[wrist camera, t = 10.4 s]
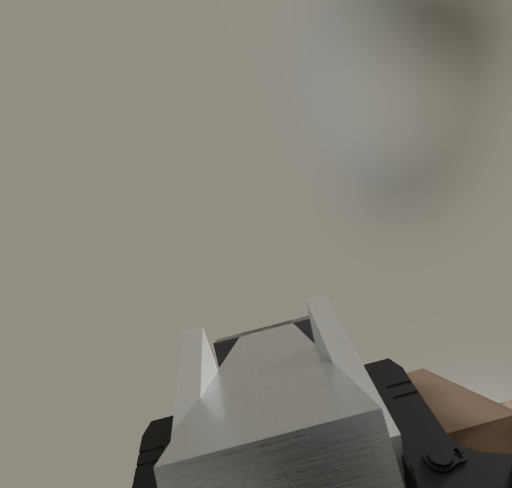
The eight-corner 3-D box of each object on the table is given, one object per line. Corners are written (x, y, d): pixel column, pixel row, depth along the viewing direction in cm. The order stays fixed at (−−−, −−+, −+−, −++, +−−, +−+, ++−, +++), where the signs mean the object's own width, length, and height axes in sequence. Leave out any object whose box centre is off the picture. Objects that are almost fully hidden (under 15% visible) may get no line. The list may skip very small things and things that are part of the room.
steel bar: (83, 765, 6) (38, 497, 7) (230, 389, 32) (218, 339, 33) (577, 633, 6) (494, 378, 7) (327, 364, 32) (314, 314, 33)
